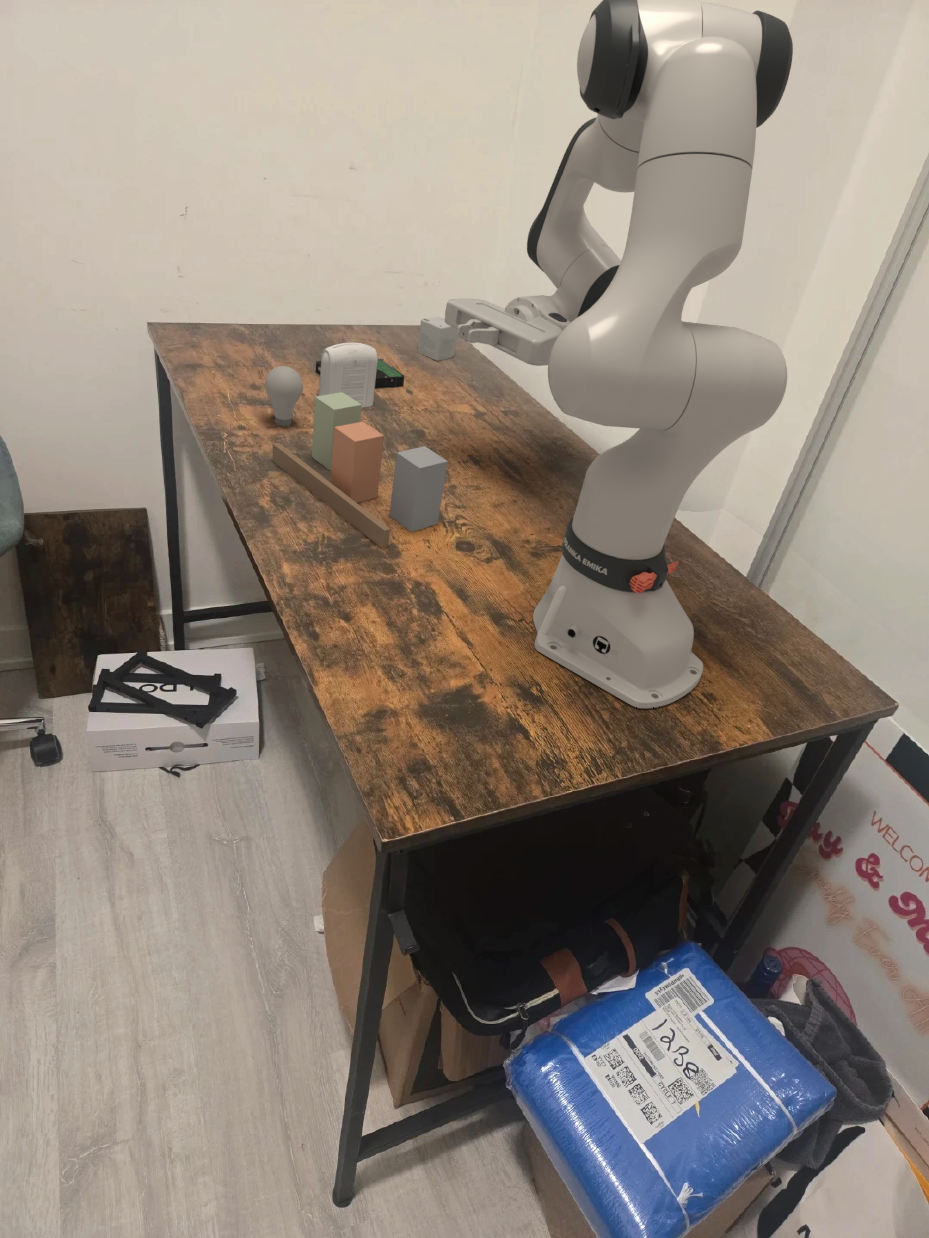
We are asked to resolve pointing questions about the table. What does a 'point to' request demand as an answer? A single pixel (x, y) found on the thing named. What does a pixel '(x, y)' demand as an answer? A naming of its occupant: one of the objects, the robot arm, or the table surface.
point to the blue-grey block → (417, 488)
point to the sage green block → (331, 423)
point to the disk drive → (381, 375)
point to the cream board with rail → (332, 496)
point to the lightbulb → (283, 392)
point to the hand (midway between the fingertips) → (463, 334)
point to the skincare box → (437, 339)
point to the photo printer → (349, 371)
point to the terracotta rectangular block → (357, 460)
